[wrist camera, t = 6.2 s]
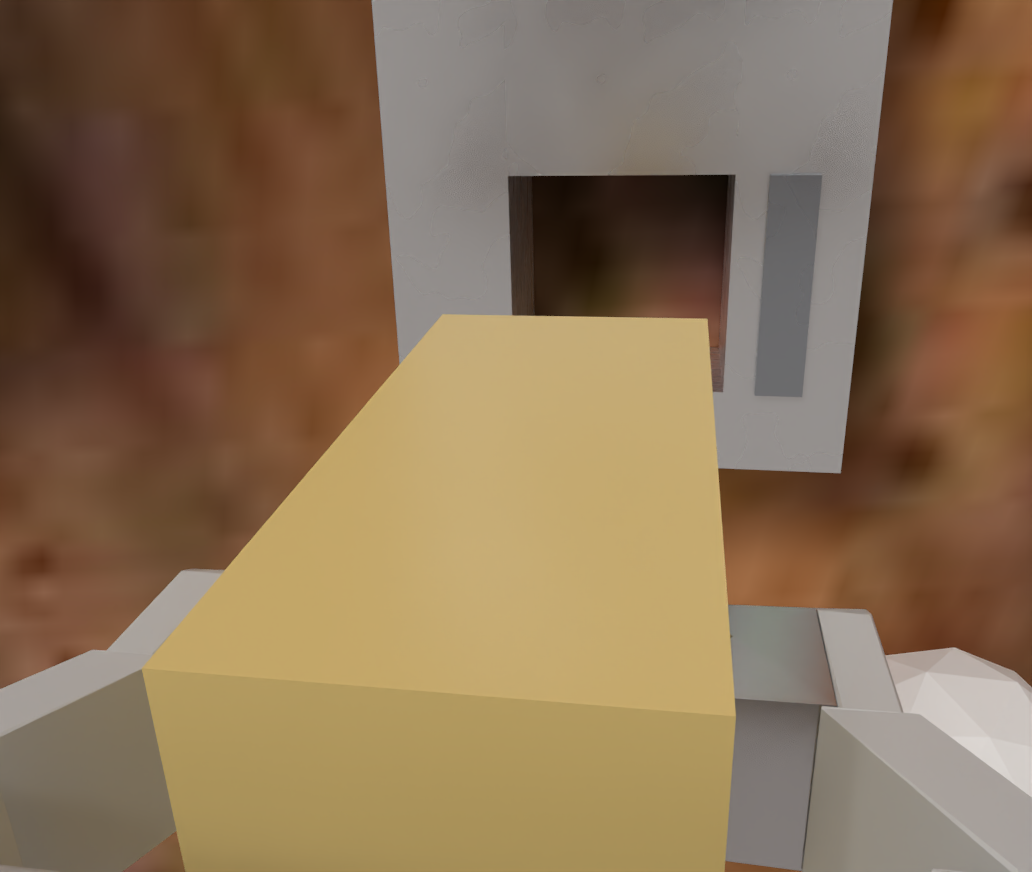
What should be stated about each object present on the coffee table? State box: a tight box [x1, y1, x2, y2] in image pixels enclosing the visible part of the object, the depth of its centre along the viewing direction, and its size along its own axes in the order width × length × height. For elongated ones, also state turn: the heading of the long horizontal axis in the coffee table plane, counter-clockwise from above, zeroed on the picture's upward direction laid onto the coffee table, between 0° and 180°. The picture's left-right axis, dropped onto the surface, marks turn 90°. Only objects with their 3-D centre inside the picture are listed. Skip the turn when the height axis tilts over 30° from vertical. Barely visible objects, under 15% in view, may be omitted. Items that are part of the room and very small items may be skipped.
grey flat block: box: [372, 0, 893, 473], centre depth 24 cm, size 22×12×4 cm, turn 2°
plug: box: [142, 314, 736, 872], centre depth 11 cm, size 5×4×9 cm
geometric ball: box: [885, 647, 1032, 797], centre depth 29 cm, size 8×8×8 cm
